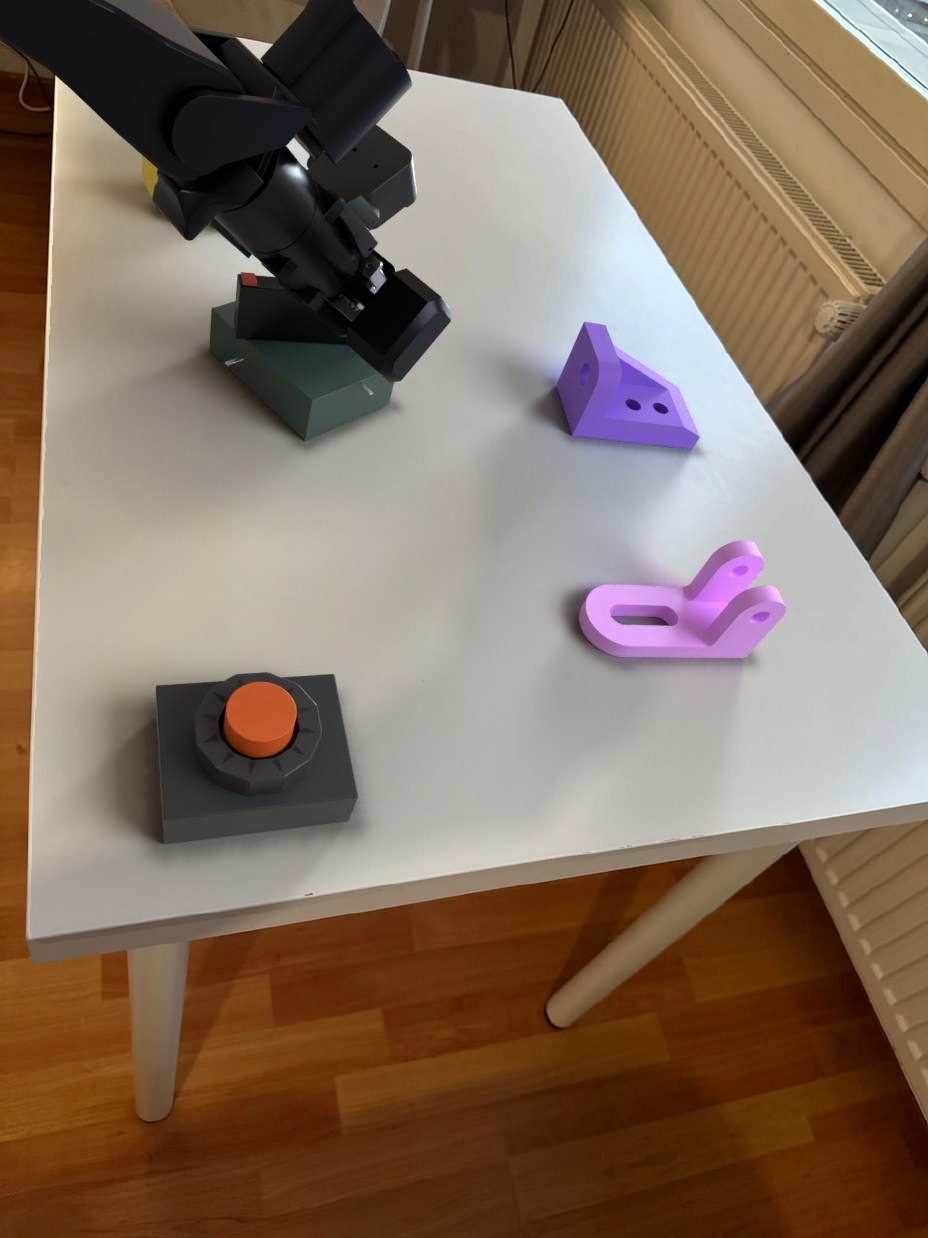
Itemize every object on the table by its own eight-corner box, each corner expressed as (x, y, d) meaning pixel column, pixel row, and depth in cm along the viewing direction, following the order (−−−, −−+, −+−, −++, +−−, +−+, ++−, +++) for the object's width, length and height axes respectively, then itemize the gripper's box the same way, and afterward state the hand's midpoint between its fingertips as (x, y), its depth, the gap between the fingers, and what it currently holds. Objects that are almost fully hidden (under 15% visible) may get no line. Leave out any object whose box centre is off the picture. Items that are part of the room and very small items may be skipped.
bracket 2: (720, 599, 69) (766, 541, 64) (745, 658, 66) (796, 602, 61) (570, 594, 65) (607, 532, 60) (589, 656, 62) (629, 597, 57)
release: (163, 845, 46) (164, 804, 42) (155, 714, 51) (155, 666, 47) (349, 821, 50) (364, 782, 46) (326, 701, 54) (339, 656, 50)
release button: (227, 761, 45) (229, 744, 44) (220, 701, 47) (222, 683, 46) (297, 754, 46) (301, 738, 45) (288, 696, 48) (291, 679, 47)
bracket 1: (572, 435, 77) (602, 372, 72) (556, 384, 81) (584, 321, 75) (692, 449, 80) (729, 390, 75) (671, 399, 84) (705, 340, 79)
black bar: (372, 334, 71) (383, 282, 67) (376, 346, 70) (388, 295, 67) (233, 325, 67) (237, 270, 63) (236, 338, 66) (240, 283, 62)
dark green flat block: (428, 404, 74) (440, 364, 71) (286, 468, 65) (293, 426, 62) (311, 302, 78) (317, 260, 75) (163, 349, 69) (163, 304, 66)
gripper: (471, 180, 49) (531, 303, 63) (259, 19, 54) (360, 168, 69) (343, 338, 50) (431, 421, 65) (147, 166, 55) (270, 280, 70)
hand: (373, 317), depth 67 cm, fingers closed
